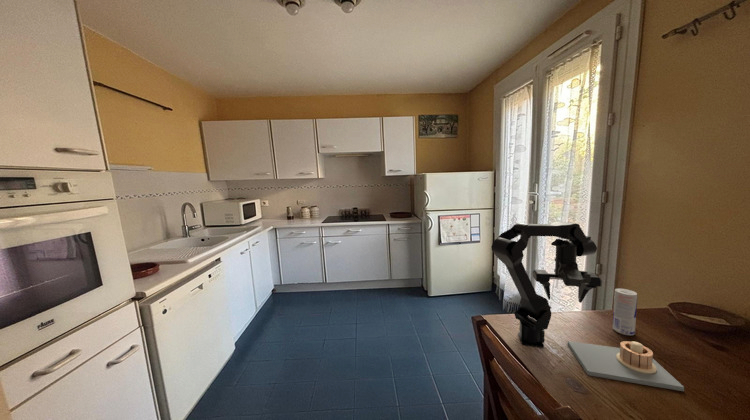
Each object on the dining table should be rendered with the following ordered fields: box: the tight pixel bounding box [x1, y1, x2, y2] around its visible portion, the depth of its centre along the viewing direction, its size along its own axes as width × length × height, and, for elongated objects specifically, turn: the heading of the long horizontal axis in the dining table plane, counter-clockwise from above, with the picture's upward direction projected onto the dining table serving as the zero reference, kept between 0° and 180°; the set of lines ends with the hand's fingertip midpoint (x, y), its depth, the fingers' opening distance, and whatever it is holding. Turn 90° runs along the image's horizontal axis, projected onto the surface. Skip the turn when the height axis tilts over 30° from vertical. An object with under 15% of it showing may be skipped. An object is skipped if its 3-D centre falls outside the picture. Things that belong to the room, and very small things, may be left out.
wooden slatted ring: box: [619, 340, 654, 370], centre depth 72 cm, size 6×6×4 cm
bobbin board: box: [567, 340, 685, 392], centre depth 73 cm, size 20×14×7 cm
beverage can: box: [612, 288, 638, 336], centre depth 88 cm, size 6×6×15 cm
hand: (564, 300), depth 88 cm, fingers open, 9 cm apart
